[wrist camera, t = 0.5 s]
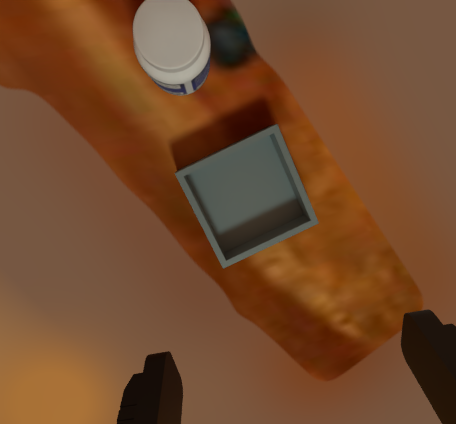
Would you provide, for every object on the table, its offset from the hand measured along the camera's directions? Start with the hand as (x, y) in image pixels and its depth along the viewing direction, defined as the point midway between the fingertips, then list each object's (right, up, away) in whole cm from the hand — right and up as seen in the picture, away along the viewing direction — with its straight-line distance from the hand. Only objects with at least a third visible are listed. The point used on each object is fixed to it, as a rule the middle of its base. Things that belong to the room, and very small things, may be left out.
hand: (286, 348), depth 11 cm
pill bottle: (-7, +19, +20) cm, 28 cm away
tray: (0, +7, +23) cm, 24 cm away
